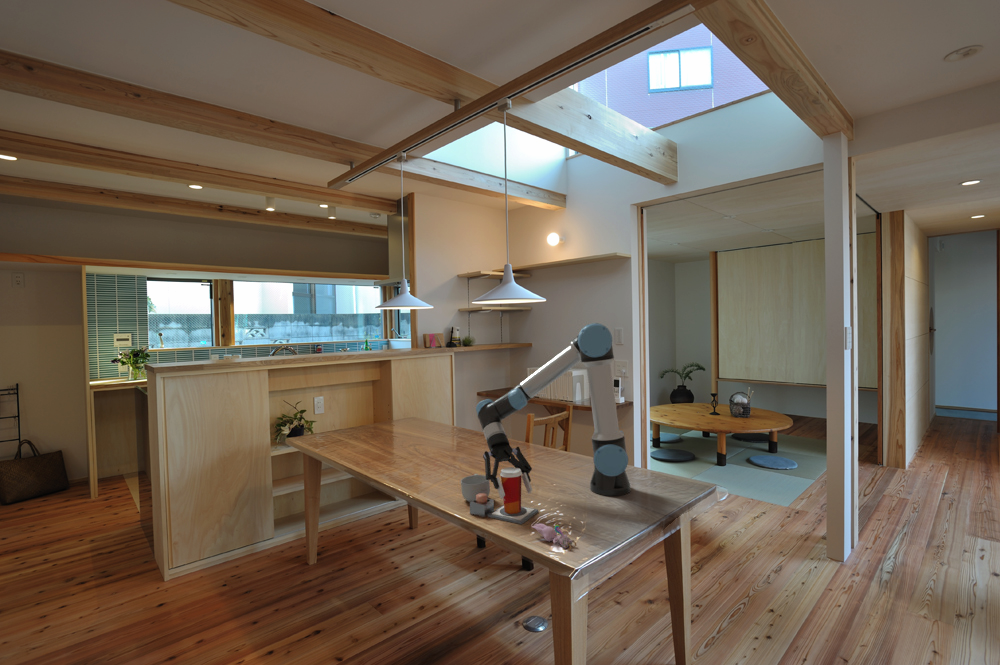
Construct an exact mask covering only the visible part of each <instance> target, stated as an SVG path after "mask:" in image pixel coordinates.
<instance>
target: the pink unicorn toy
mask: <svg viewBox="0 0 1000 665" xmlns="http://www.w3.org/2000/svg"><path fill="white" fill-rule="evenodd" d="M531 528H533V529H534V530H536V531H537V532H538V533H540V534H541V535H542V537H543V538H544V540H545V541H547V542H550V541H552V542H553V544H556V543H557V544H560V546H561V548H562V549H567V548H568V547H569V550H572V549H573V548H572V545H573V543H574V547H575V548H576V547H577V542H576V541H575V540H574V539H571V538H570V537H569V536H568V535H567V534H564V533H563V531H562V530H561V528H560V525H559V524H555V525H554V527H553V526H548V525H547V524H544V523H537V524H534V525H533V526H531ZM558 534H559V535H558Z"/></svg>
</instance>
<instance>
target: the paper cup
mask: <svg viewBox="0 0 1000 665" xmlns="http://www.w3.org/2000/svg"><path fill="white" fill-rule="evenodd" d="M499 475H500V481H501V484H502V487H503V490H504V493H505V496H504V498H503V499H502V500H503V501H502V502H503V505H504V510H505V512H506V513H508V514H516V513H519V512H520V511H521V506H522V475H523V474H522V472H521V469H520V468H515V467H514V466H508V467H504V468H502V469H501V470H500V473H499Z"/></svg>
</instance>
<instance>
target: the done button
mask: <svg viewBox="0 0 1000 665" xmlns="http://www.w3.org/2000/svg"><path fill="white" fill-rule="evenodd" d="M487 498H488V497H487V494H484V493H480V494H477V495H476V503H480V504H485V503H487Z"/></svg>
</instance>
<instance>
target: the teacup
mask: <svg viewBox="0 0 1000 665" xmlns="http://www.w3.org/2000/svg"><path fill="white" fill-rule="evenodd" d="M459 482H460V487H461V495H462V497H463V498H464V500H466V501H467V502H469V503H470V502H471V501H473V500H475V499H476V495H477V494H480V493H484V494H487V498H488V497H489V495H490V494H491V486H490V484H491V483H490V480H486V474H478V473H474V474H473V475H467V476H465V477H462V478H461V480H459Z"/></svg>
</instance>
